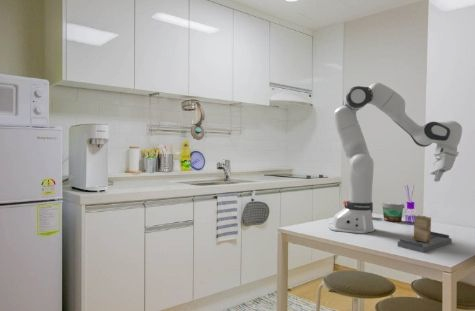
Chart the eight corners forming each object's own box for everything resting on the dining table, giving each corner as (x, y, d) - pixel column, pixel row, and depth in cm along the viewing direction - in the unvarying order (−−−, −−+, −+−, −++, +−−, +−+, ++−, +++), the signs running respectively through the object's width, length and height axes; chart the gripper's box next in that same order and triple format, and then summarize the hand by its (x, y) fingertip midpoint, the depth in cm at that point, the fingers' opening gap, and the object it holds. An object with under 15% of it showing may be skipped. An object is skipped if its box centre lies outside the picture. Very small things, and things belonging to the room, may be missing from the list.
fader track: (426, 237, 175) (426, 230, 175) (451, 242, 166) (451, 235, 166) (397, 246, 160) (397, 238, 160) (423, 252, 151) (423, 244, 151)
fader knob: (418, 237, 164) (419, 215, 164) (430, 240, 160) (431, 217, 160) (413, 239, 162) (414, 216, 161) (425, 242, 158) (426, 218, 157)
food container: (384, 222, 205) (385, 204, 204) (381, 220, 211) (381, 202, 210) (407, 223, 204) (408, 205, 204) (403, 220, 210) (403, 203, 210)
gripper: (431, 156, 189) (423, 181, 188) (445, 147, 170) (436, 175, 168) (444, 160, 188) (436, 185, 186) (460, 151, 168) (451, 180, 166)
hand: (436, 181), depth 177 cm, fingers closed
